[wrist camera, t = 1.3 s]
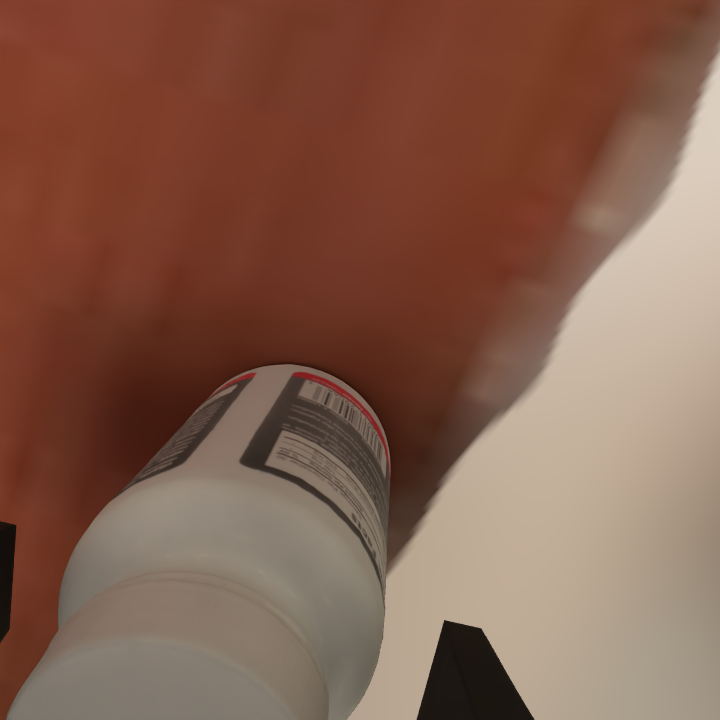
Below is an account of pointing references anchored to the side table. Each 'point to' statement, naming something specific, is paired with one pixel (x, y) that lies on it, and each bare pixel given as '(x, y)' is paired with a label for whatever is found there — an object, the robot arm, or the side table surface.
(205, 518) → the pill bottle
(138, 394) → the side table surface
